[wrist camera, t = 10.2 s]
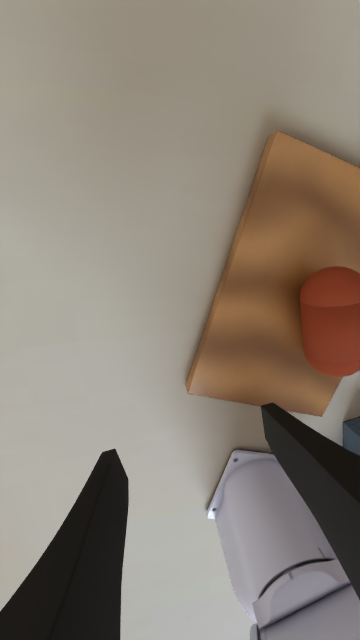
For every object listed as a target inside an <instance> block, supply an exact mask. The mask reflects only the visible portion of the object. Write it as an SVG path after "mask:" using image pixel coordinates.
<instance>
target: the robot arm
mask: <svg viewBox="0 0 360 640" xmlns="http://www.w3.org/2000/svg"><path fill="white" fill-rule="evenodd" d="M261 410H262V418H263V425H264V432H265V438H266V440H267V442H268V444H269V446H270V448H271V450H272V452H273V454H268V453H260V452H252V451H244V450H234V451H233V452H232V454H231V457H230V459H229V461H228V464H227V466H226V468H225V471H224V473H223V475H222V478H221V480H220V482H219V485H218V487H217V489H216V492H215V494H214V496H213V499H212V501H211V503H210V506H209V508H208V510H207V513H206V514H207V517H208V518H209V519H215V520H216V524H217V528H218V532H219V536H220V540H221V544H222V548H223V552H224V556H225V560H226V564H227V568H228V572H229V576H230V580H231V584H232V587H233V590H234V592H235V595H236V597H237V599H238V601H239V603H240V604H241V606H242V608H243V609H244V610H245V612H246V613H247V614H248V616H249V617H250V618H251V619H252V620H253V621H254V622H256V623H255V624H253V625H252V627H251V629H250V640H360V456H359V455H357V454H355V453H353V452H351V451H349V450H347V449H346V448H344V447H342V446H340V445H338V444H337V443H335V442H333V441H331V440H330V439H328V438H326V437H325V436H323V435H321V434H320V433H318V432H316V431H315V430H313V429H312V428H310V427H309V426H307V425H305V424H304V423H302V422H301V421H299V420H298V419H296V418H295V417H294V416H292V415H291V414H289V413H288V412H286V411H285V410H283V409H282V408H281V407H279V406H278V405H276V404H275V403H273V402H272V403H268V404H265V405H262V406H261ZM235 458H236V459H235ZM127 515H128V477H127V475H126V473H125V470H124V468H123V466H122V463H121V461H120V459H119V456H118V454H117V452H116V449H112V450H109V451H105V452H102V454H101V455H100V457H99V459H98V461H97V463H96V465H95V467H94V469H93V471H92V473H91V475H90V476H89V478H88V480H87V482H86V484H85V486H84V488H83V489H82V491H81V493H80V495H79V497H78V498H77V500H76V502H75V504H74V506H73V507H72V509H71V511H70V512H69V514H68V516H67V517H66V519H65V521H64V522H63V524H62V526H61V527H60V529H59V530H58V532H57V534H56V535H55V537H54V538H53V540H52V541H51V543H50V544H49V546H48V547H47V549H46V550H45V552H44V553H43V555H42V556H41V558H40V559H39V561H38V562H37V564H36V565H35V566H34V568H33V569H32V570H31V572H30V573H29V575H28V576H27V577H26V579H25V580H24V581H23V583H22V584H21V585H20V587H19V588H18V589H17V591H16V592H15V593H14V595H13V596H12V597H11V599H10V600H9V601H8V603H7V604H6V605H5V606H4V608H3V609H2V610H1V611H0V640H120V615H121V581H122V567H123V557H124V547H125V536H126V526H127Z"/></svg>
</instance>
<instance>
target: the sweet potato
mask: <svg viewBox="0 0 360 640" xmlns="http://www.w3.org/2000/svg"><path fill="white" fill-rule="evenodd" d="M300 309H301V323H302V337H303V350H304V354H305V357H306V359H307V361H308V362H309V364H310V365H311V366H312V367H313V368H314V369H316V370H317V371H318V372H320V373H323V374H325V375H328V376H333V377H343V376H348V375H351V374H354V373H355V372H357V371H359V370H360V273H358V272H356V271H355V270H353V269H350V268H346V267H339V266H333V267H327V268H324V269H321V270H319V271H317V272H315V273H314V274H312V275H311V276H310V277H309V278H308V279H307V280H306V281H305V283H304V284H303V286H302V289H301V293H300Z"/></svg>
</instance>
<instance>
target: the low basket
mask: <svg viewBox="0 0 360 640" xmlns="http://www.w3.org/2000/svg"><path fill="white" fill-rule="evenodd" d="M343 447H344V448H346V449H347V450H349V451H351V452H353V453H355V454H357V455H359V456H360V417H359V418H355V419H352V420H349V421H346V422H343Z"/></svg>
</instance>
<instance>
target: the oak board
mask: <svg viewBox="0 0 360 640" xmlns="http://www.w3.org/2000/svg"><path fill="white" fill-rule="evenodd" d="M333 266H339V267H346V268H350V269H353V270H355V271H356V272H358V273H360V168H359V167H356V166H354V165H352V164H350V163H348V162H346V161H343V160H341V159H339V158H337V157H335V156H333V155H330V154H328V153H326V152H324V151H322V150H320V149H317V148H315V147H313V146H311V145H309V144H307V143H304V142H302V141H300V140H298V139H296V138H293V137H291V136H289V135H287V134H285V133H283V132H280V131H278V130H276V131H275V132H274V133H273V134H272V135H271V136H269V137H268V139H267V142H266V145H265V148H264V151H263V154H262V157H261V160H260V163H259V166H258V169H257V172H256V175H255V178H254V181H253V184H252V188H251V191H250V194H249V197H248V200H247V203H246V206H245V209H244V212H243V215H242V218H241V221H240V224H239V227H238V230H237V233H236V236H235V239H234V242H233V245H232V248H231V251H230V254H229V257H228V260H227V263H226V266H225V269H224V272H223V275H222V278H221V281H220V284H219V287H218V290H217V293H216V296H215V299H214V302H213V305H212V308H211V311H210V314H209V317H208V320H207V323H206V326H205V329H204V332H203V335H202V338H201V341H200V344H199V347H198V350H197V353H196V356H195V359H194V362H193V365H192V368H191V371H190V374H189V377H188V380H187V383H186V389H187V393H188V394H192V395H198V396H204V397H210V398H216V399H222V400H227V401H233V402H239V403H245V404H251V405H257V406H262V405H265V404H268V403H272V402H273V403H275V404H276V405H278V406H279V407H281V408H282V409H283V410H286V411H292V412H298V413H303V414H309V415H315V416H322V415H323V413H324V412H325V410H326V408H327V406H328V404H329V402H330V400H331V398H332V396H333V394H334V393H335V391H336V389H337V387H338V385H339V383H340V381H341V379H342V377H333V376H328V375H325V374H323V373H320V372H318V371H317V370H316V369H314V368H313V367H312V366H311V365H310V364H309V362H308V361H307V359H306V357H305V354H304V350H303V337H302V323H301V309H300V293H301V289H302V286H303V284H304V283H305V281H306V280H307V279H308V278H309V277H310V276H311V275H312V274H314V273H315V272H317V271H319V270H321V269H324V268H327V267H333Z"/></svg>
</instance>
